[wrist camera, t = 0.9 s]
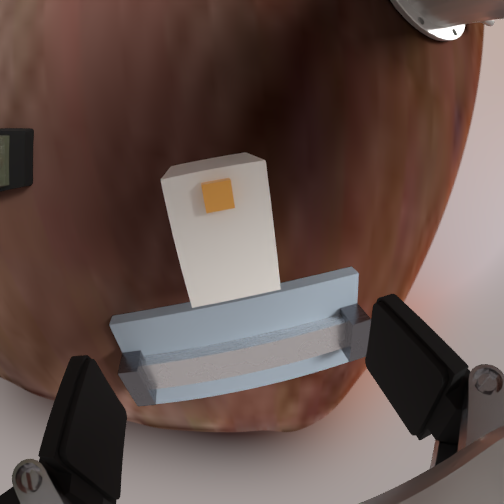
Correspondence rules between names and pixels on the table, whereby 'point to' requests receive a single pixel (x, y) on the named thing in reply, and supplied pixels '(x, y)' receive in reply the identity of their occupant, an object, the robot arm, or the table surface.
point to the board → (239, 329)
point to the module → (222, 227)
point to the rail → (245, 354)
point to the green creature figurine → (16, 158)
